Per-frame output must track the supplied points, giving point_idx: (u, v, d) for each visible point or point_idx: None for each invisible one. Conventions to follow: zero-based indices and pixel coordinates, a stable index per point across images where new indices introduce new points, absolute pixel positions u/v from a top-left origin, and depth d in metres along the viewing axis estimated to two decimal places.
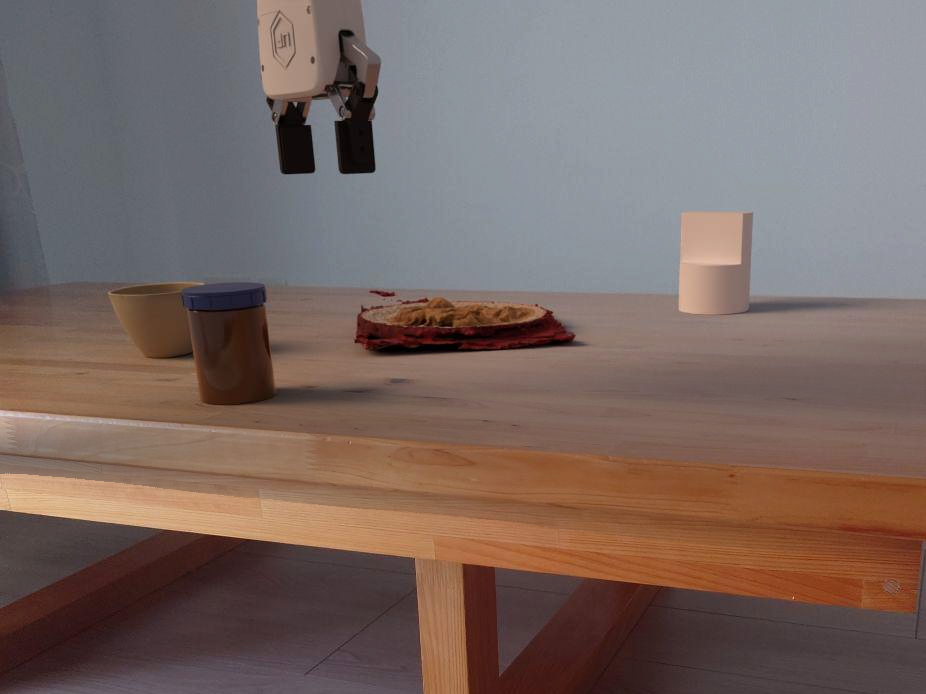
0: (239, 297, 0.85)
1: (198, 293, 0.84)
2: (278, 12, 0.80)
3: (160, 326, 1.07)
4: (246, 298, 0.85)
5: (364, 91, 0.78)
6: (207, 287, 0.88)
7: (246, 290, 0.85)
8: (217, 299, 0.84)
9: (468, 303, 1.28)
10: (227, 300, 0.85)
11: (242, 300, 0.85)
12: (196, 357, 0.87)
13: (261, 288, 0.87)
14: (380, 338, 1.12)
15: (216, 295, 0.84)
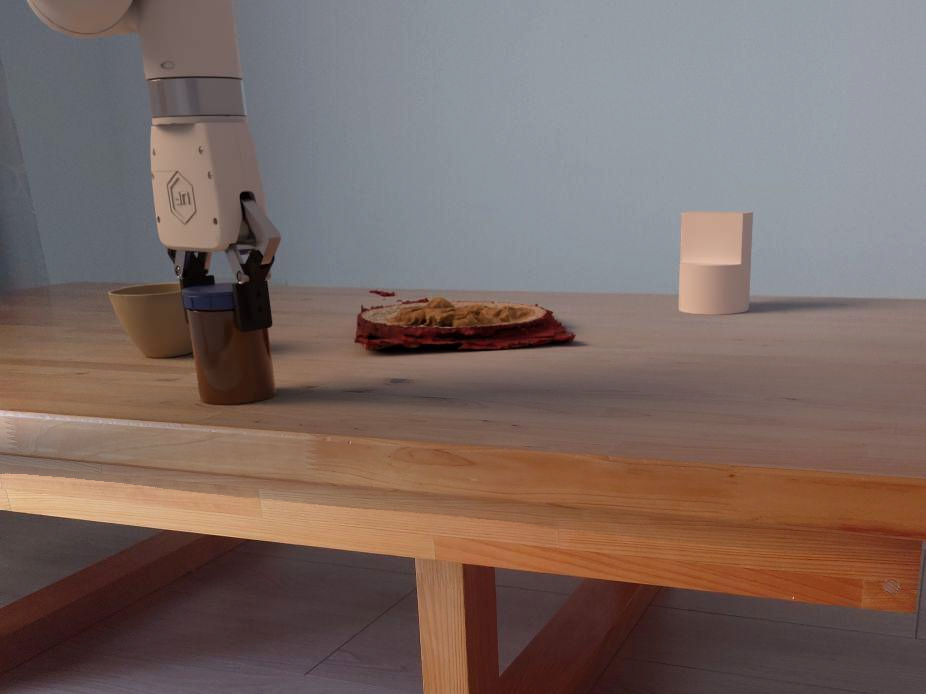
0: None
1: (198, 293, 0.84)
2: (176, 172, 0.82)
3: (160, 326, 1.07)
4: None
5: (262, 260, 0.82)
6: (207, 287, 0.88)
7: None
8: (217, 299, 0.84)
9: (468, 303, 1.28)
10: (227, 300, 0.85)
11: None
12: (196, 357, 0.87)
13: None
14: (380, 338, 1.12)
15: (216, 295, 0.84)
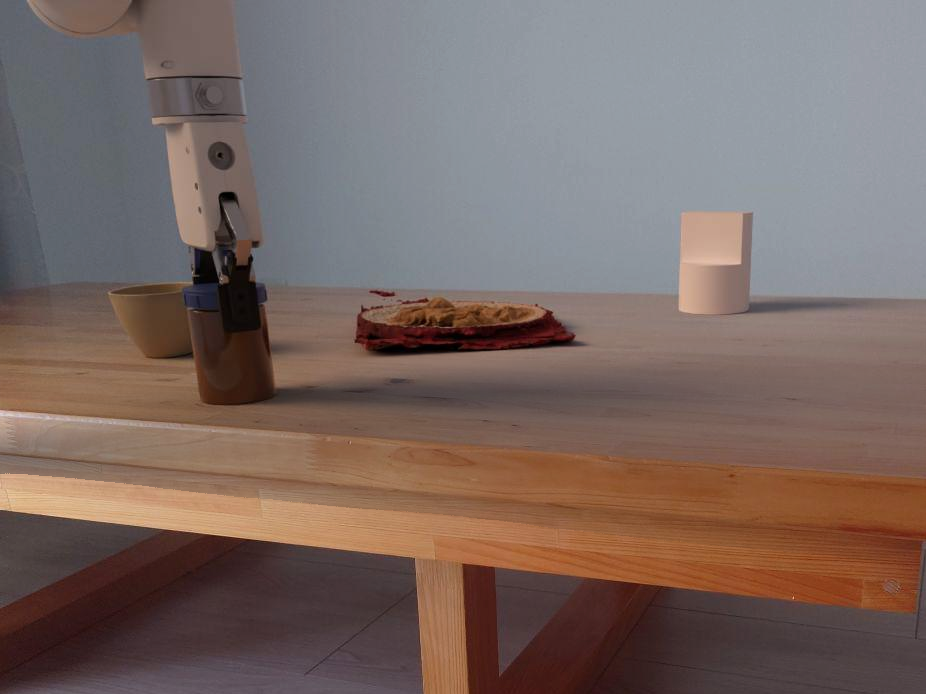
0: None
1: (256, 283, 0.90)
2: None
3: (160, 326, 1.07)
4: None
5: None
6: None
7: None
8: None
9: (468, 303, 1.28)
10: None
11: None
12: (196, 357, 0.87)
13: None
14: (380, 338, 1.12)
15: None
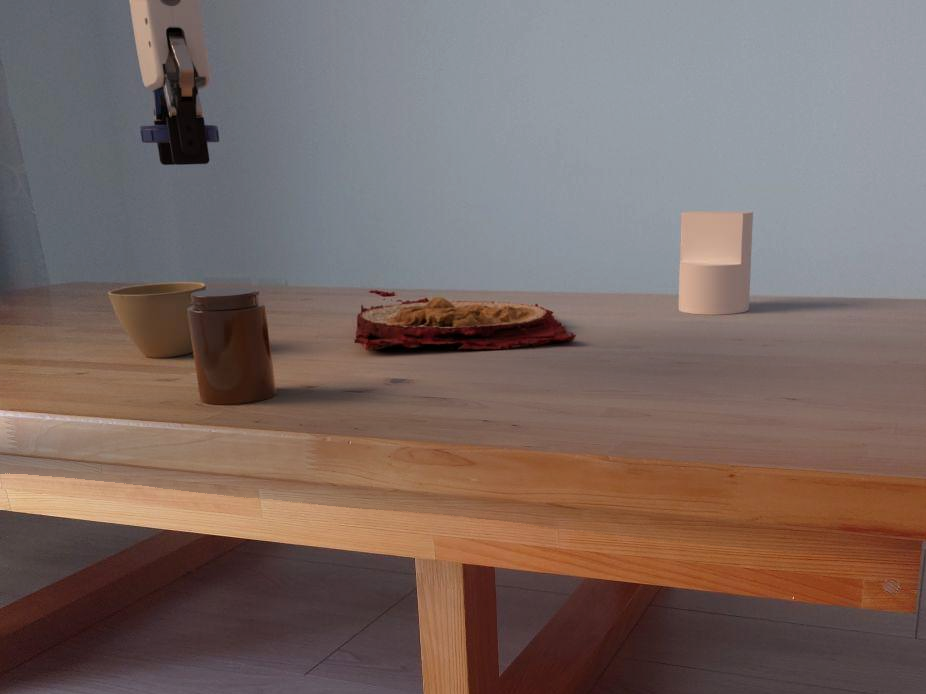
0: None
1: None
2: None
3: (160, 326, 1.07)
4: None
5: None
6: None
7: None
8: None
9: (468, 303, 1.28)
10: None
11: None
12: (196, 357, 0.87)
13: None
14: (380, 338, 1.12)
15: None
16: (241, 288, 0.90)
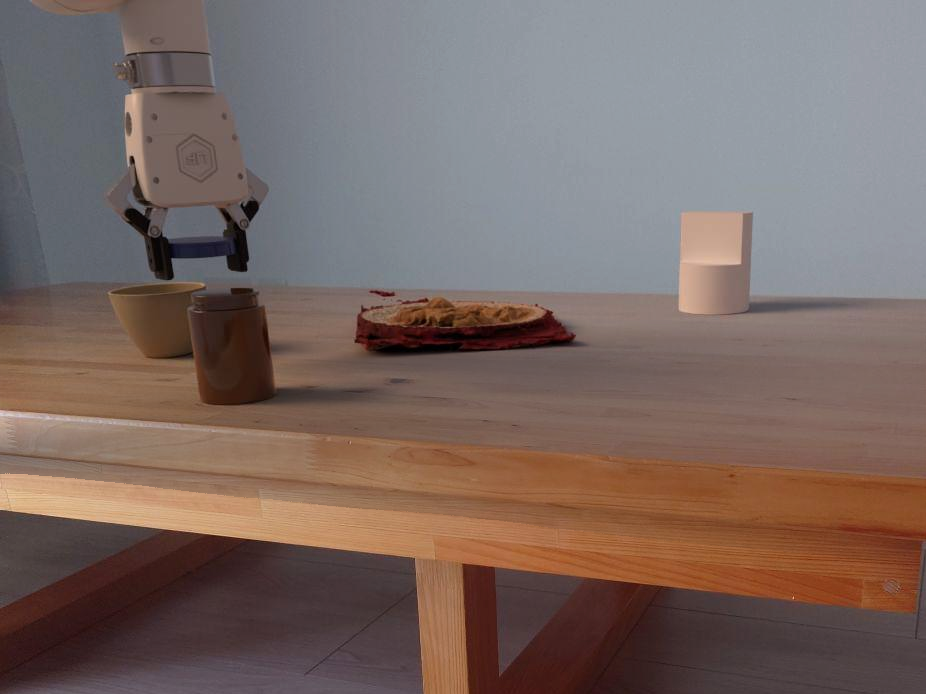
0: None
1: (222, 241, 0.97)
2: (191, 135, 0.93)
3: (160, 326, 1.07)
4: None
5: None
6: (187, 241, 0.97)
7: (229, 237, 1.01)
8: (232, 245, 0.99)
9: (468, 303, 1.28)
10: (233, 246, 0.99)
11: None
12: (196, 357, 0.87)
13: (218, 237, 1.02)
14: (380, 338, 1.12)
15: (232, 241, 0.98)
16: (241, 288, 0.90)
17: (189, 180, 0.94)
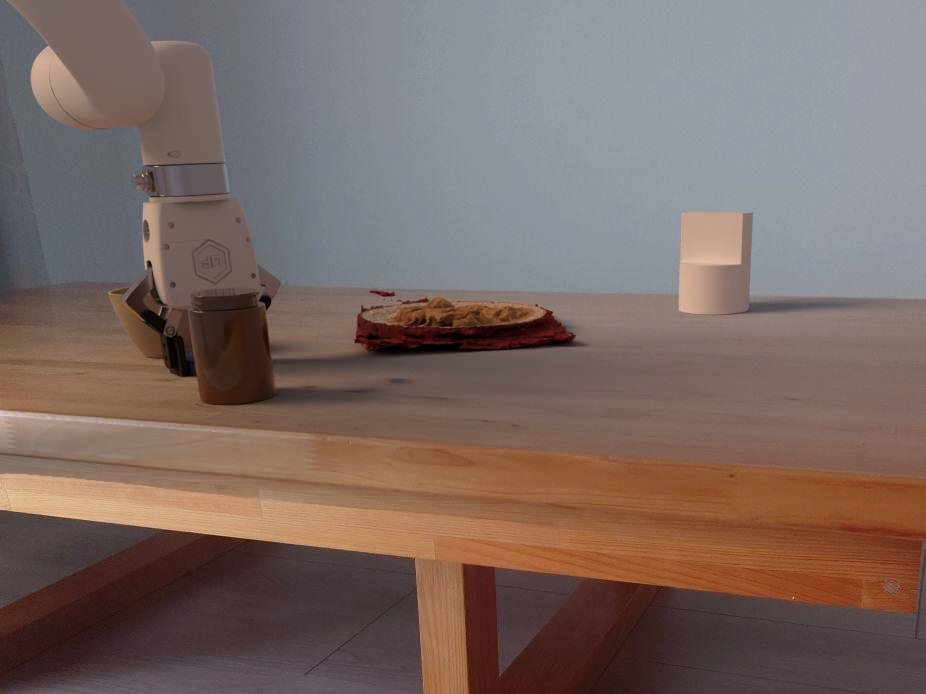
0: None
1: None
2: (206, 240, 0.96)
3: None
4: None
5: None
6: None
7: None
8: None
9: (468, 303, 1.28)
10: None
11: None
12: (196, 357, 0.87)
13: None
14: (380, 338, 1.12)
15: None
16: (241, 288, 0.90)
17: (204, 283, 0.97)
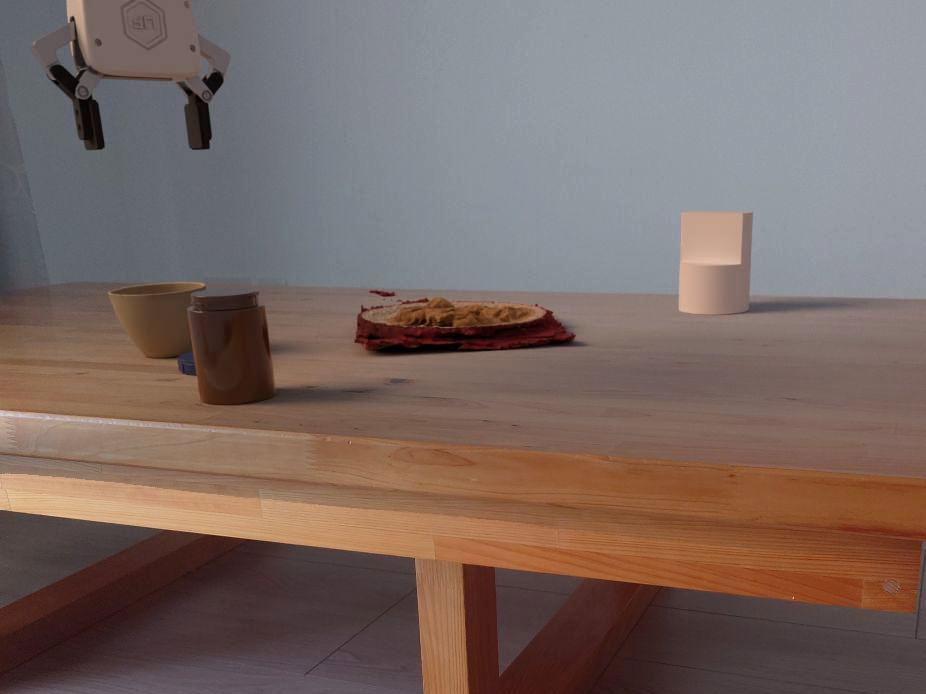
0: None
1: None
2: None
3: (160, 326, 1.07)
4: None
5: None
6: None
7: None
8: None
9: (468, 303, 1.28)
10: None
11: None
12: (196, 357, 0.87)
13: None
14: (380, 338, 1.12)
15: None
16: (241, 288, 0.90)
17: (135, 46, 0.86)
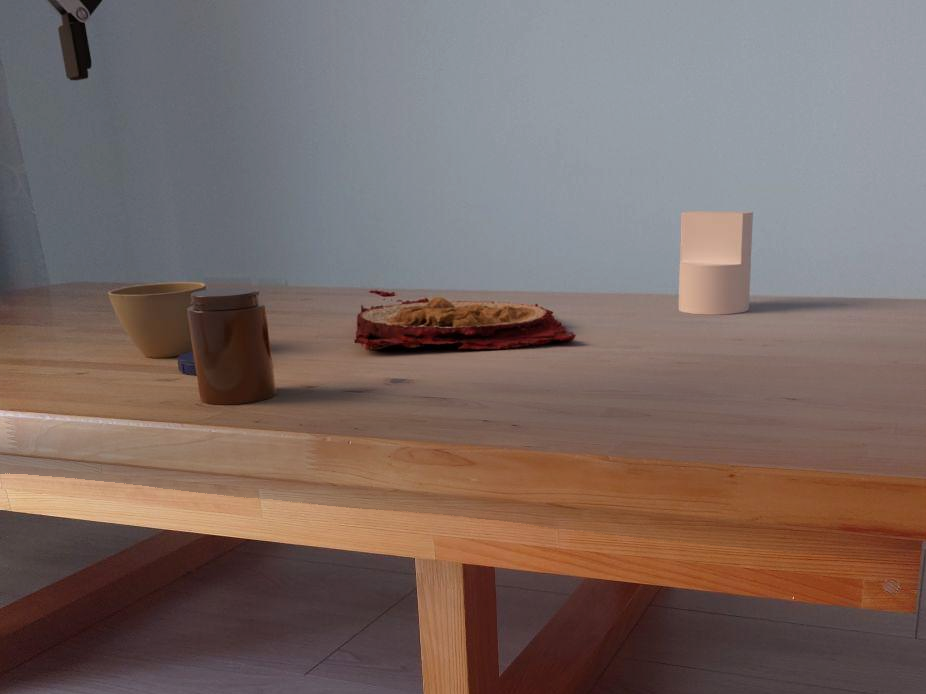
0: None
1: None
2: None
3: (160, 326, 1.07)
4: None
5: None
6: None
7: None
8: None
9: (468, 303, 1.28)
10: None
11: None
12: (196, 357, 0.87)
13: None
14: (380, 338, 1.12)
15: None
16: (241, 288, 0.90)
17: None
